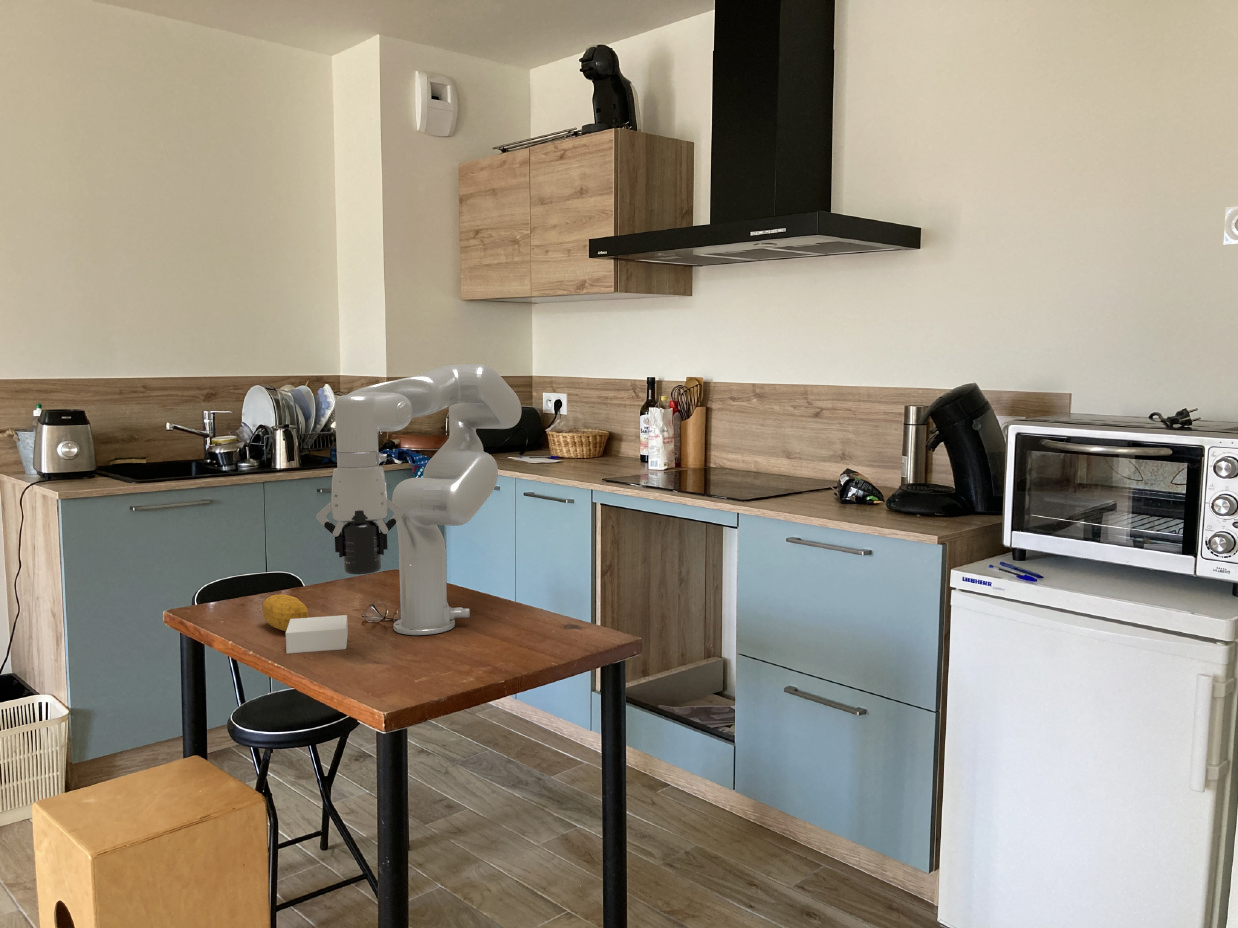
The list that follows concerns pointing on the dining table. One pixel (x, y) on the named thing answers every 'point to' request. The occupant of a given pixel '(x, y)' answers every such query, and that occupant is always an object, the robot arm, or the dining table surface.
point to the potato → (283, 610)
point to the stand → (316, 634)
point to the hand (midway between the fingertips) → (361, 554)
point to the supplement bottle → (361, 545)
